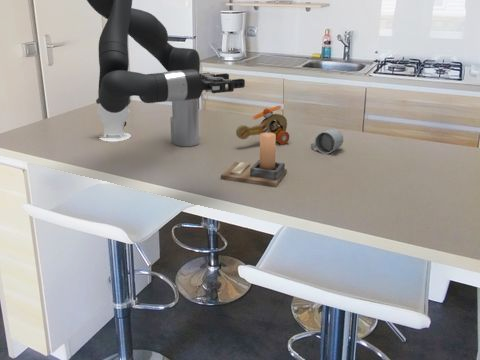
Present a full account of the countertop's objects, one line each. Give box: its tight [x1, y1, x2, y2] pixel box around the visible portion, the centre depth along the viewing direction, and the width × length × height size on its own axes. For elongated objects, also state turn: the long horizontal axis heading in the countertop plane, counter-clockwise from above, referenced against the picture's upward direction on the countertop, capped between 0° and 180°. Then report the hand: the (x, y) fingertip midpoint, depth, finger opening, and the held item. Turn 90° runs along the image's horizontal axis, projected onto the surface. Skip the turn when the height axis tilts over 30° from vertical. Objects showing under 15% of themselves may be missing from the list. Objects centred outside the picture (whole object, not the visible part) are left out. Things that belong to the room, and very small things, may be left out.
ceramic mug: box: [310, 128, 344, 155], centre depth 169 cm, size 11×8×8 cm
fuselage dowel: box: [259, 133, 277, 171], centre depth 143 cm, size 5×5×12 cm
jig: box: [220, 159, 288, 188], centre depth 146 cm, size 17×12×4 cm
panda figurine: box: [95, 97, 132, 143], centre depth 178 cm, size 12×11×15 cm
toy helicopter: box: [235, 105, 290, 145], centre depth 172 cm, size 8×21×14 cm, turn 121°
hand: (235, 80), depth 129 cm, fingers open, 8 cm apart
